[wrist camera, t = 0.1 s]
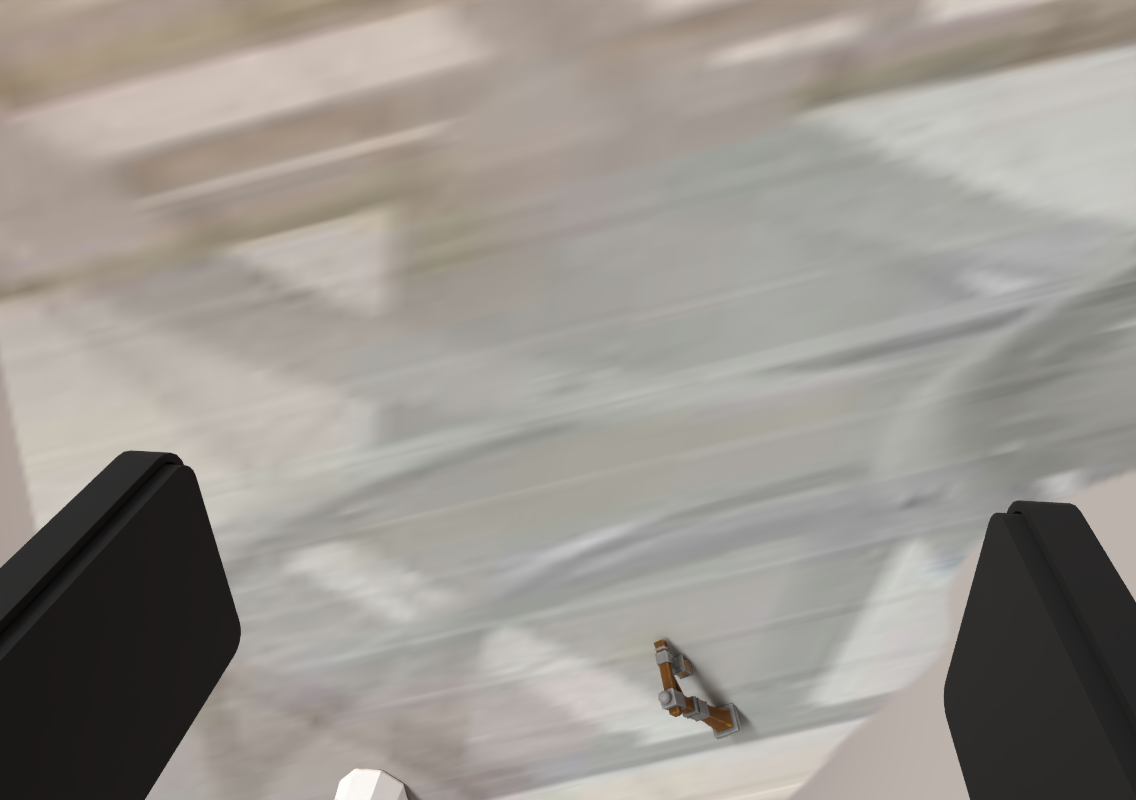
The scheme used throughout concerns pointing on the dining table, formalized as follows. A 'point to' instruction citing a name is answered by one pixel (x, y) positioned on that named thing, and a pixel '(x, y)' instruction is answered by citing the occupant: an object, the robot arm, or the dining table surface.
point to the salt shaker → (370, 786)
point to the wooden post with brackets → (692, 707)
